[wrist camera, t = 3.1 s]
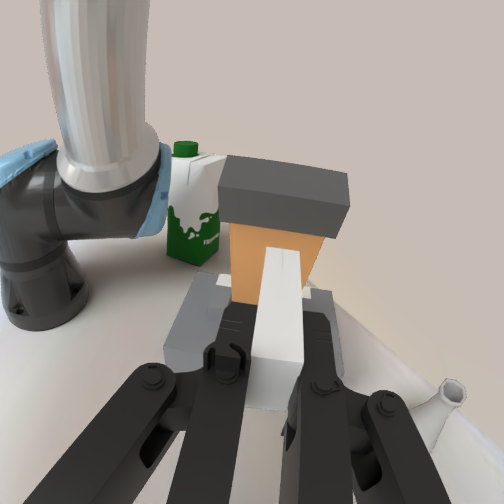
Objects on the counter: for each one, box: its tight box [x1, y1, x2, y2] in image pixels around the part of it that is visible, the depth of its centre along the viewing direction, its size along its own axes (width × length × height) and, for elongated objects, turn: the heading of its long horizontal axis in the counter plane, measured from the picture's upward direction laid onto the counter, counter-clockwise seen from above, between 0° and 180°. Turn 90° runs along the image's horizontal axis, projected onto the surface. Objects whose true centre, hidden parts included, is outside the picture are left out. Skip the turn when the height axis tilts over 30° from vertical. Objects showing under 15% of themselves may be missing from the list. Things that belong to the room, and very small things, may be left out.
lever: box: [217, 155, 350, 305], centre depth 25 cm, size 3×7×20 cm, turn 84°
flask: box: [409, 378, 467, 454], centre depth 23 cm, size 7×7×10 cm
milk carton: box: [167, 141, 227, 266], centre depth 51 cm, size 9×9×20 cm
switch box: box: [163, 271, 344, 380], centre depth 35 cm, size 14×18×8 cm
